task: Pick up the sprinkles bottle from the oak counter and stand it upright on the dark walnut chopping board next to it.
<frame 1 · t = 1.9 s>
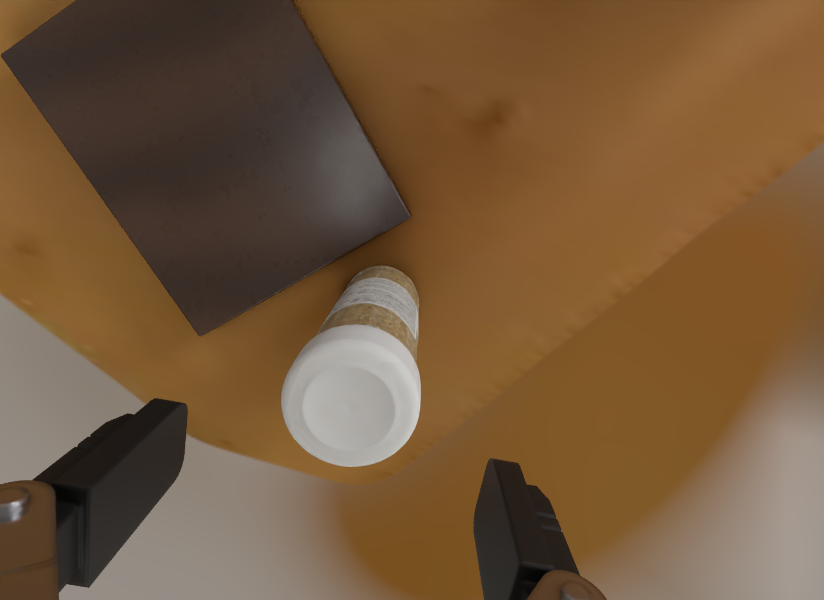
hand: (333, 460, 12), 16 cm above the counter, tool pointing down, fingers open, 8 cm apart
walnut board: (224, 141, 26), on the counter
sprinkles bottle: (382, 299, 28), on the counter
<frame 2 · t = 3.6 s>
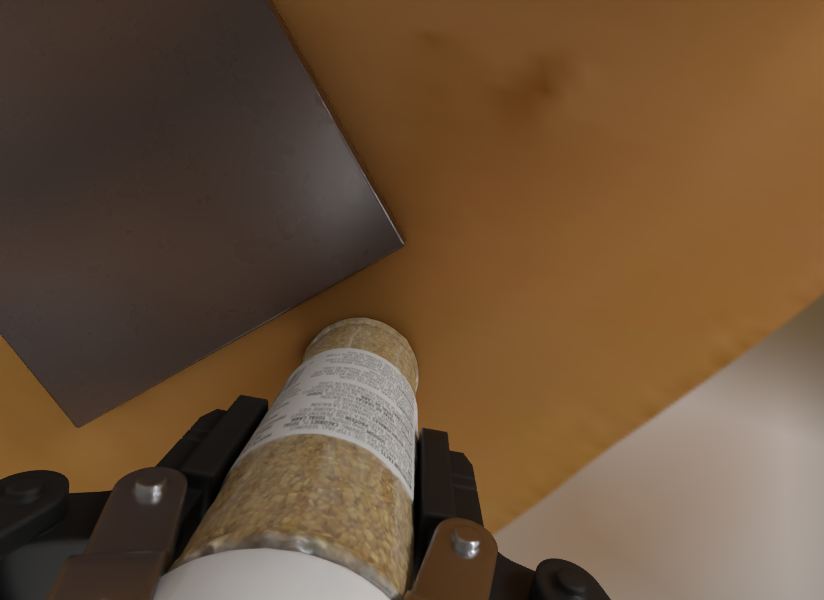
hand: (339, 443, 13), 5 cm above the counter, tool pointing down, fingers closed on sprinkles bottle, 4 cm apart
walnut board: (107, 123, 16), on the counter
sprinkles bottle: (362, 367, 18), on the counter, touching gripper
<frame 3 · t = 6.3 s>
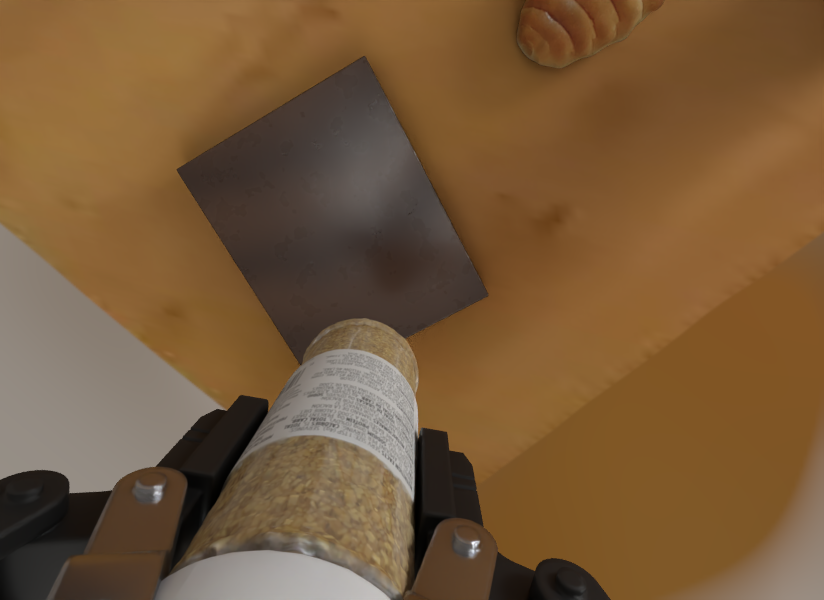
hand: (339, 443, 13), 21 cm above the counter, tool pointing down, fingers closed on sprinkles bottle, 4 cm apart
walnut board: (340, 232, 33), on the counter
sprinkles bottle: (362, 367, 19), point 15 cm above the counter, touching gripper
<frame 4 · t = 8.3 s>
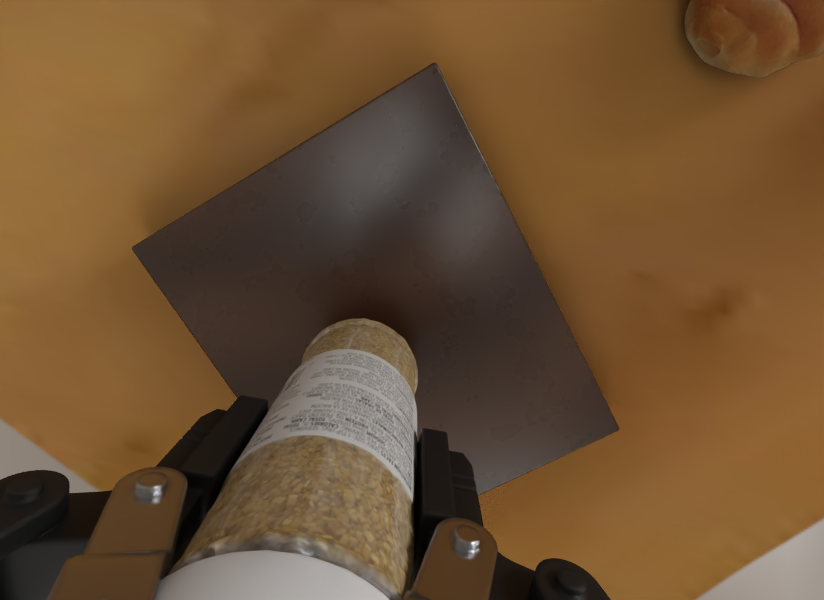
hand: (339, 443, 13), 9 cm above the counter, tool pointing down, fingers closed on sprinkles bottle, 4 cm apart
walnut board: (388, 331, 21), on the counter
sprinkles bottle: (361, 367, 19), point 3 cm above the counter, touching gripper
when the fingers open (7 cm above the counter, at t = 9.3 s): sprinkles bottle stays where it is, resting on walnut board.
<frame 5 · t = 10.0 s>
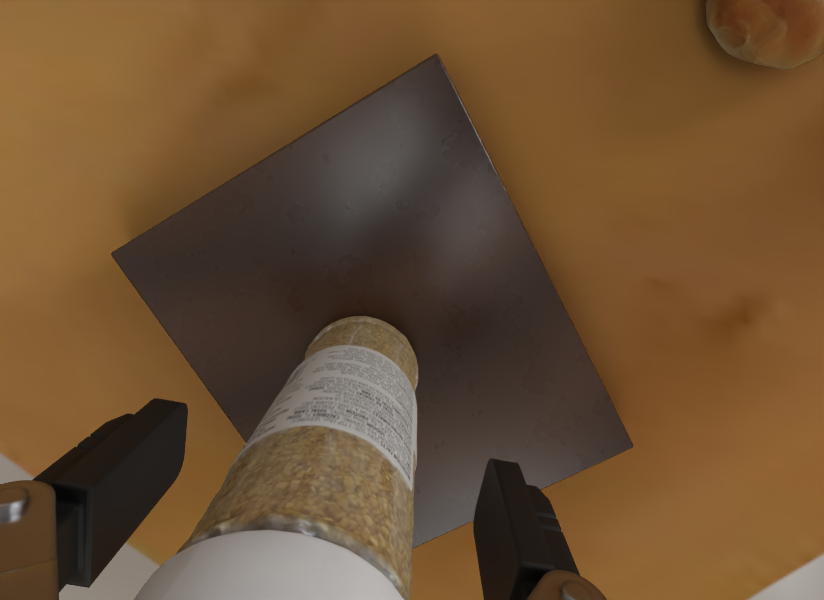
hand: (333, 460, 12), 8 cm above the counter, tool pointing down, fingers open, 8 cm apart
walnut board: (386, 342, 20), on the counter
sprinkles bottle: (363, 364, 19), point 1 cm above the counter, touching walnut board
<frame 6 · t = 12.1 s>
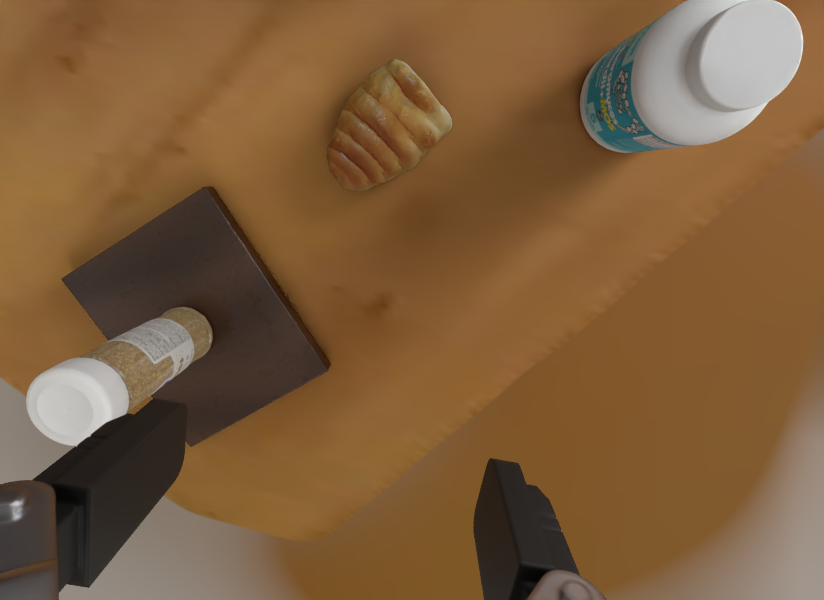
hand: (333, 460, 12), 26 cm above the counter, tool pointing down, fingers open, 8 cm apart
pill bottle: (625, 102, 35), on the counter
walnut board: (205, 320, 39), on the counter
pastry: (391, 130, 36), on the counter
sprinkles bottle: (188, 331, 38), point 1 cm above the counter, touching walnut board
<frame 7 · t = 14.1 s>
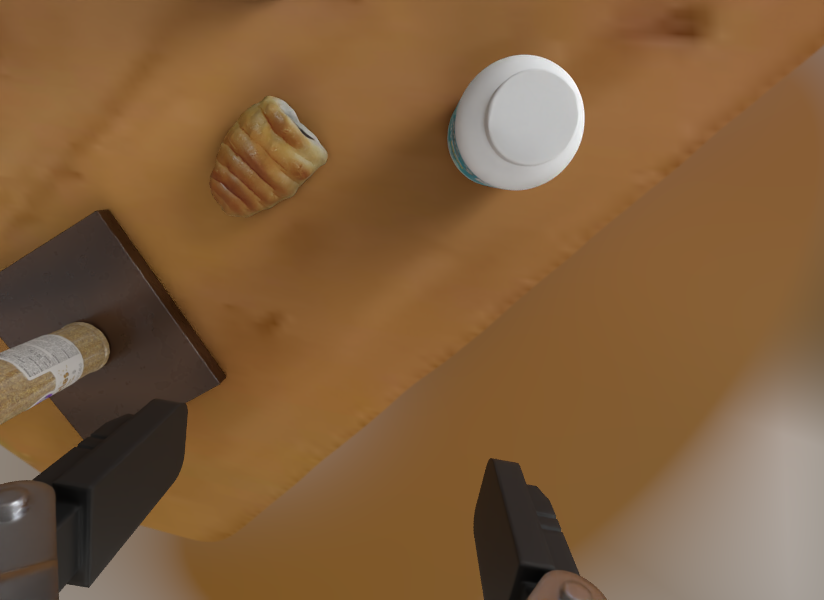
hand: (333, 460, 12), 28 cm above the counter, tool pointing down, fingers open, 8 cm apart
pill bottle: (493, 138, 37), on the counter
walnut board: (106, 334, 41), on the counter
pastry: (274, 160, 38), on the counter
sprinkles bottle: (87, 344, 40), point 1 cm above the counter, touching walnut board
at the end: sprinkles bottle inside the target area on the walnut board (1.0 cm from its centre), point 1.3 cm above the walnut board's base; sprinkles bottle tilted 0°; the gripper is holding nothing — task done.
